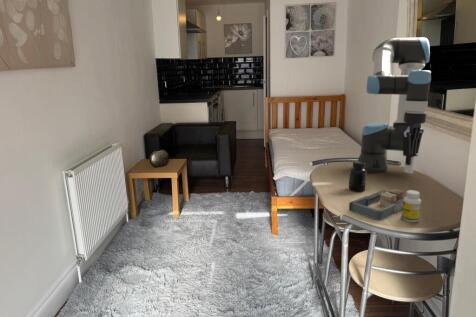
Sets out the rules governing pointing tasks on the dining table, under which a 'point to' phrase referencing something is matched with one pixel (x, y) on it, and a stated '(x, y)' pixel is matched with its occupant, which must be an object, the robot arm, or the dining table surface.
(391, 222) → the dining table surface
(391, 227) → the dining table surface
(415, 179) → the dining table surface
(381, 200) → the beige cube
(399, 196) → the brown cube
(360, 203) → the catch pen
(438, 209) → the dining table surface
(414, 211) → the supplement bottle
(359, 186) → the supplement bottle
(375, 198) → the slot rails
